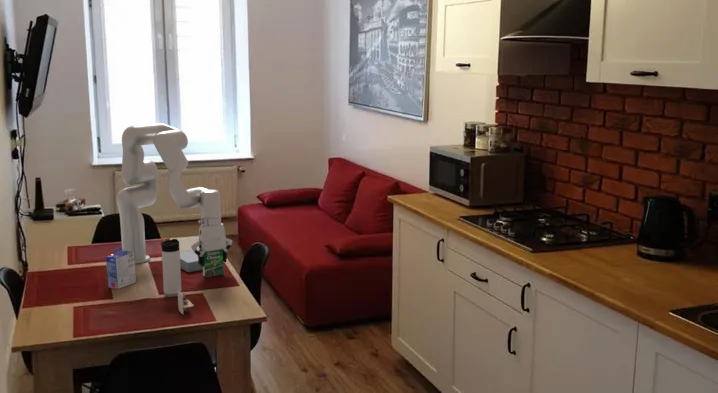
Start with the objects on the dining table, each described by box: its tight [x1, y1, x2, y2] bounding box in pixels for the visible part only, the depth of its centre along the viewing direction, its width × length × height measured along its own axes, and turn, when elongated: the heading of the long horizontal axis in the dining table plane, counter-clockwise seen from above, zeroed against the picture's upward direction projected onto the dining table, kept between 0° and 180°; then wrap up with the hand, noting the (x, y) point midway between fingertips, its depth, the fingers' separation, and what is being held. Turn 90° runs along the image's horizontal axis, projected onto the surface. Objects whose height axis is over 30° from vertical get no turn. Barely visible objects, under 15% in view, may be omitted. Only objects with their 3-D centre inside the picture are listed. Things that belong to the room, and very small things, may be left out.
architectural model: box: [177, 291, 194, 315], centre depth 247 cm, size 3×7×7 cm, turn 29°
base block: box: [180, 250, 203, 273], centre depth 302 cm, size 11×16×4 cm
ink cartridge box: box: [105, 246, 137, 290], centre depth 275 cm, size 10×6×14 cm, turn 155°
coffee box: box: [202, 249, 225, 278], centre depth 287 cm, size 8×3×13 cm, turn 116°
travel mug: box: [161, 238, 183, 298], centre depth 264 cm, size 6×7×20 cm
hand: (212, 263), depth 288 cm, fingers open, 9 cm apart
